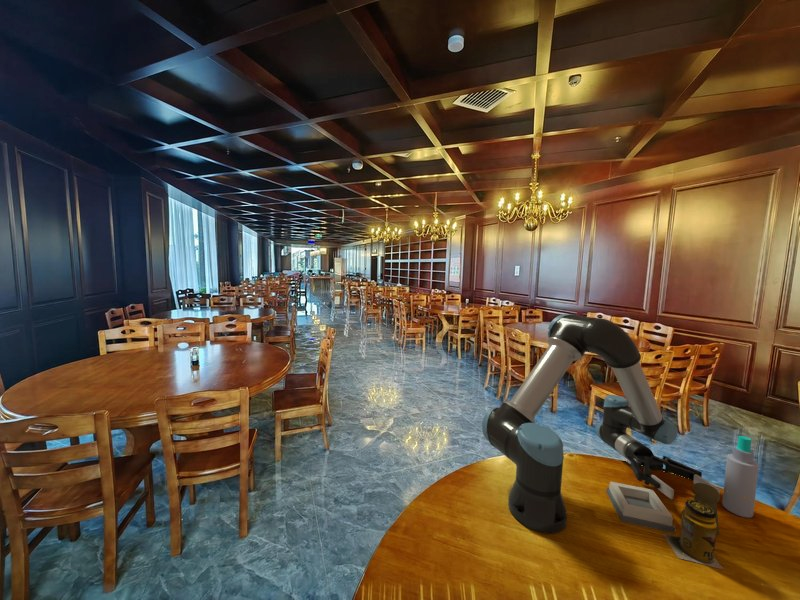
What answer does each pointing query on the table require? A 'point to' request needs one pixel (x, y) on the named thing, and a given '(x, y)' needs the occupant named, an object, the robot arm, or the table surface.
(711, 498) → the cork
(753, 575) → the table surface
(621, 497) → the collar holder
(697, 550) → the condiment
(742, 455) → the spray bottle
